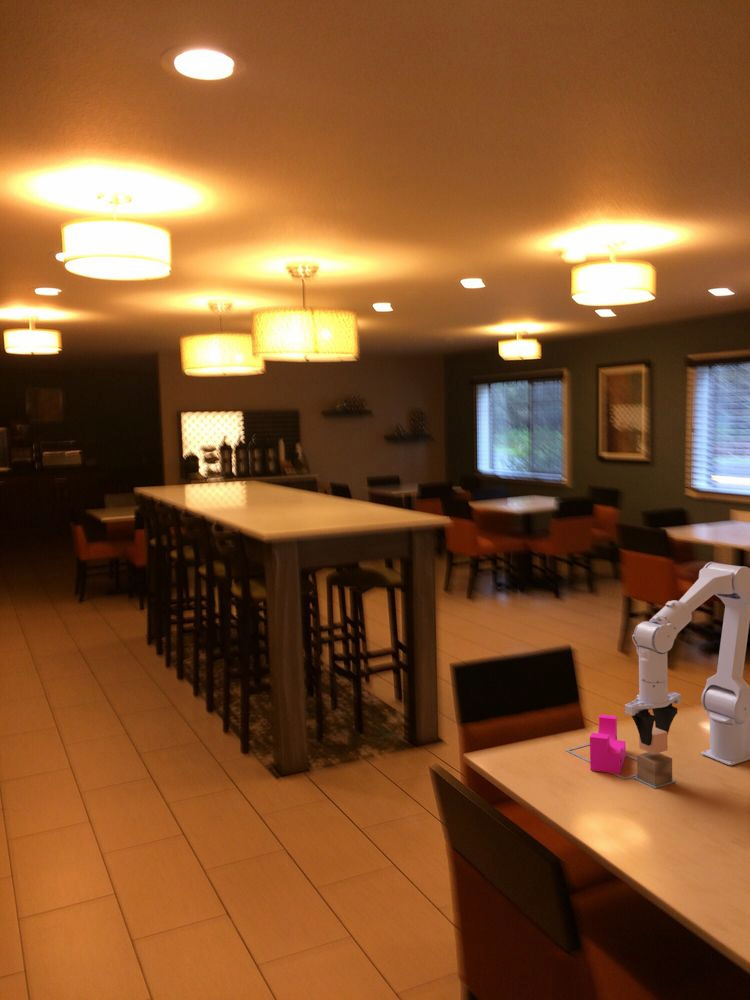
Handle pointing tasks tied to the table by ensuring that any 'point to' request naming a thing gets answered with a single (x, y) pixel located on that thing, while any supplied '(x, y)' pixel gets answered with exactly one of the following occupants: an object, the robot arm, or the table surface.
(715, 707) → the robot arm
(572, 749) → the frame
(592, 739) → the toy block
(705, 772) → the table surface
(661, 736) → the terracotta block
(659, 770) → the walnut cube
